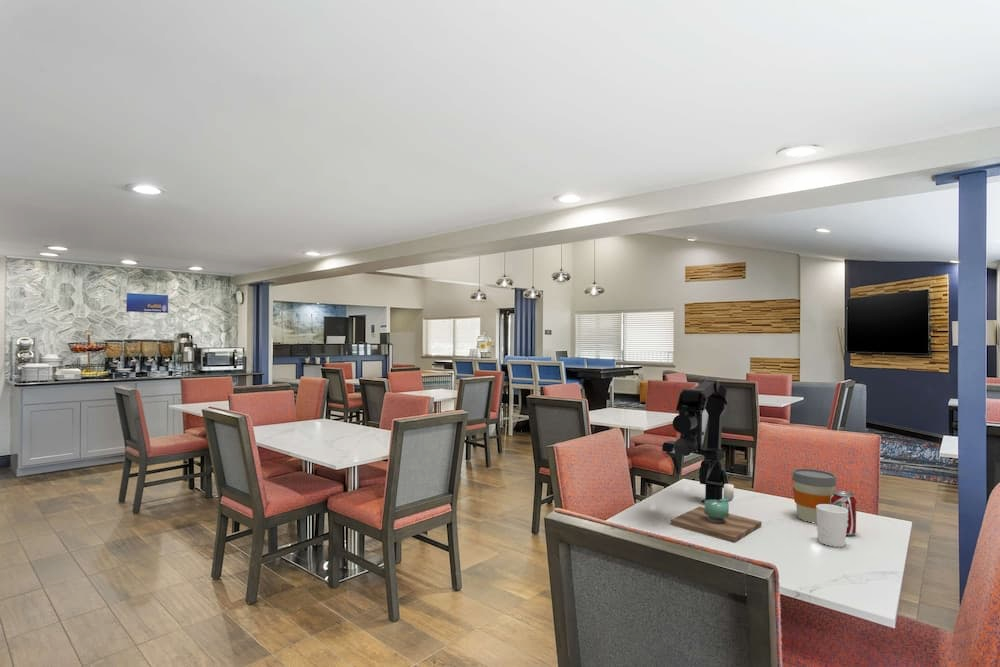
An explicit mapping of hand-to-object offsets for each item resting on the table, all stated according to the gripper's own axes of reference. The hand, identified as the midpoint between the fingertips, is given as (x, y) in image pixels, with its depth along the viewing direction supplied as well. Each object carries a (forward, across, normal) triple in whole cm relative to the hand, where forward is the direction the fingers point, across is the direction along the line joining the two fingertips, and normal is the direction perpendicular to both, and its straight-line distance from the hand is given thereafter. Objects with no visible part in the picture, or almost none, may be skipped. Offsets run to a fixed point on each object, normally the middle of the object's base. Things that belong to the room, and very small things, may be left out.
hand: (691, 477), depth 177 cm
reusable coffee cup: (+14, +26, +31) cm, 43 cm away
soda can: (+14, +36, +24) cm, 46 cm away
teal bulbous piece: (+10, +8, +4) cm, 13 cm away
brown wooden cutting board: (+14, +8, +1) cm, 16 cm away
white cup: (+14, +37, +12) cm, 41 cm away
